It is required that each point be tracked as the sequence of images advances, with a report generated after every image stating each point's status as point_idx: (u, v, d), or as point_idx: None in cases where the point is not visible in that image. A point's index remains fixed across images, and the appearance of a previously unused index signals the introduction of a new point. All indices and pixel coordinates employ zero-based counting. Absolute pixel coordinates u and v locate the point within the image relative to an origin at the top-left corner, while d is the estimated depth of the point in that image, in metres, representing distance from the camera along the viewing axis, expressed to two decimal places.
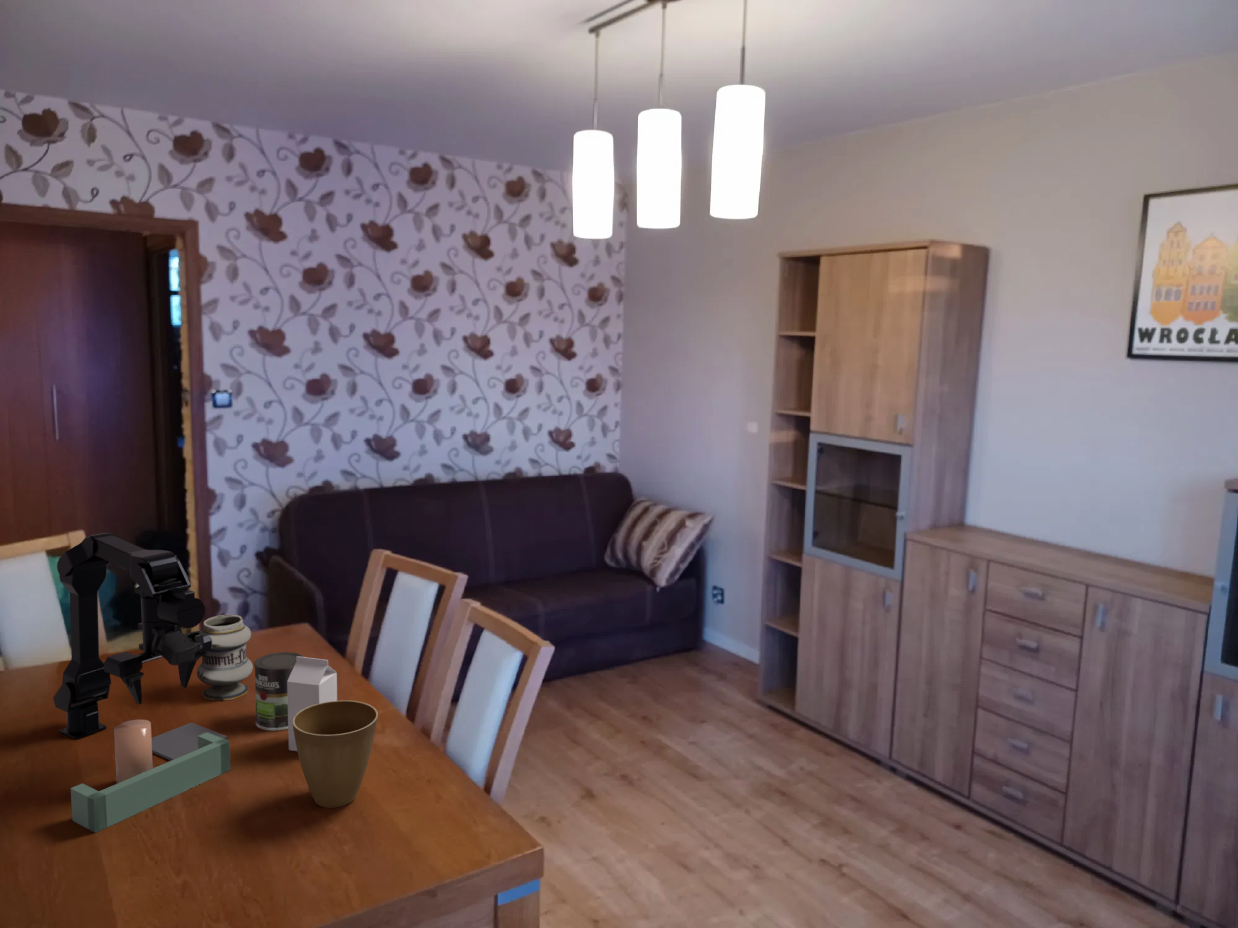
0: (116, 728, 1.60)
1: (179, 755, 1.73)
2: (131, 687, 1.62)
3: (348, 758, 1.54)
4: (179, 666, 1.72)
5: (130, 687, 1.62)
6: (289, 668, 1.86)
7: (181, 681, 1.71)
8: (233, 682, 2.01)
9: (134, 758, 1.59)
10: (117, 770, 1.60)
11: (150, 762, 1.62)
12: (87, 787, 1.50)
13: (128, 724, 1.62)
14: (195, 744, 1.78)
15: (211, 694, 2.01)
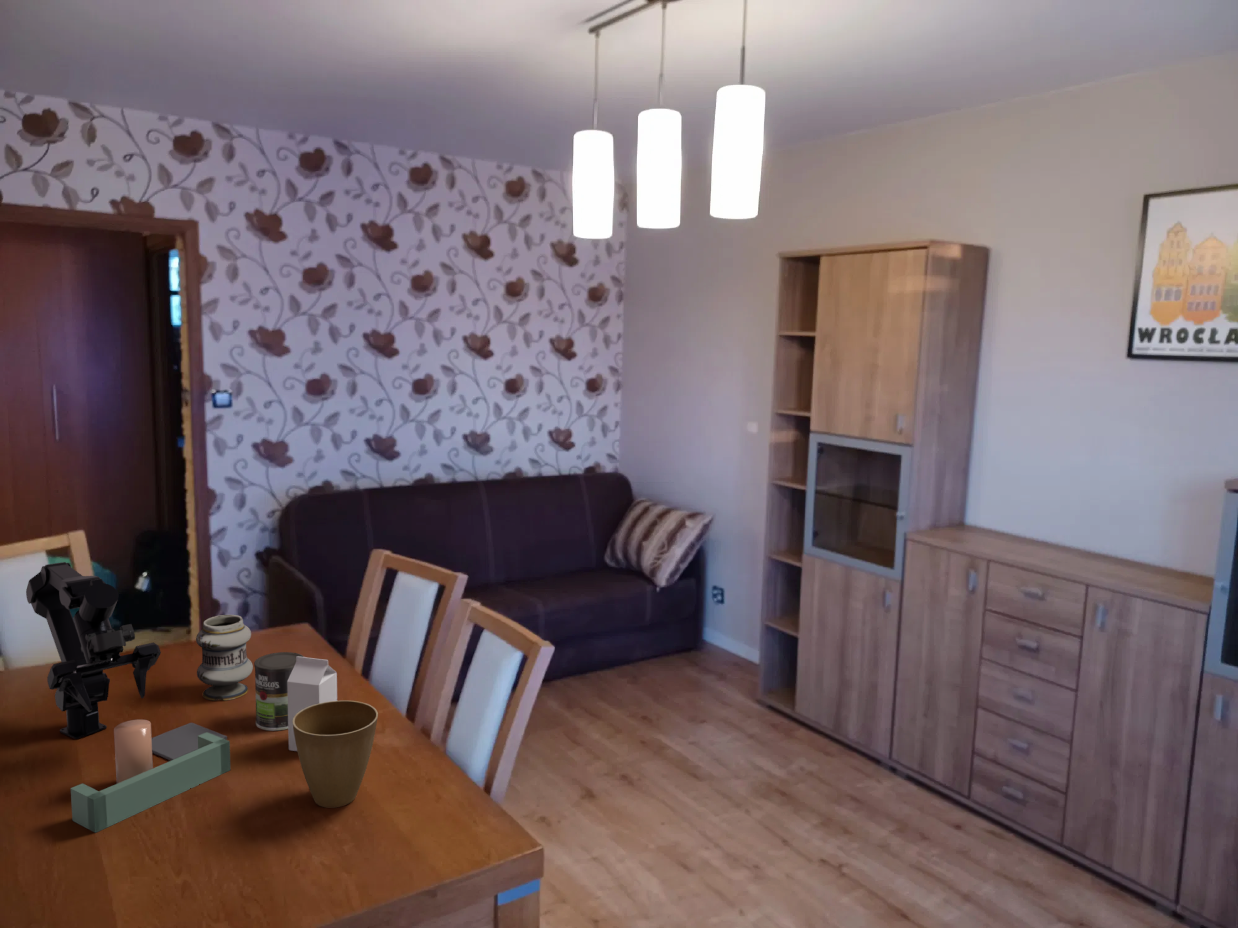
0: (116, 728, 1.60)
1: (179, 755, 1.73)
2: (78, 695, 1.63)
3: (348, 758, 1.54)
4: (136, 682, 1.72)
5: (78, 697, 1.64)
6: (289, 668, 1.86)
7: (139, 692, 1.70)
8: (233, 682, 2.01)
9: (134, 758, 1.59)
10: (117, 770, 1.60)
11: (150, 762, 1.62)
12: (87, 787, 1.50)
13: (128, 724, 1.62)
14: (195, 744, 1.78)
15: (211, 694, 2.01)
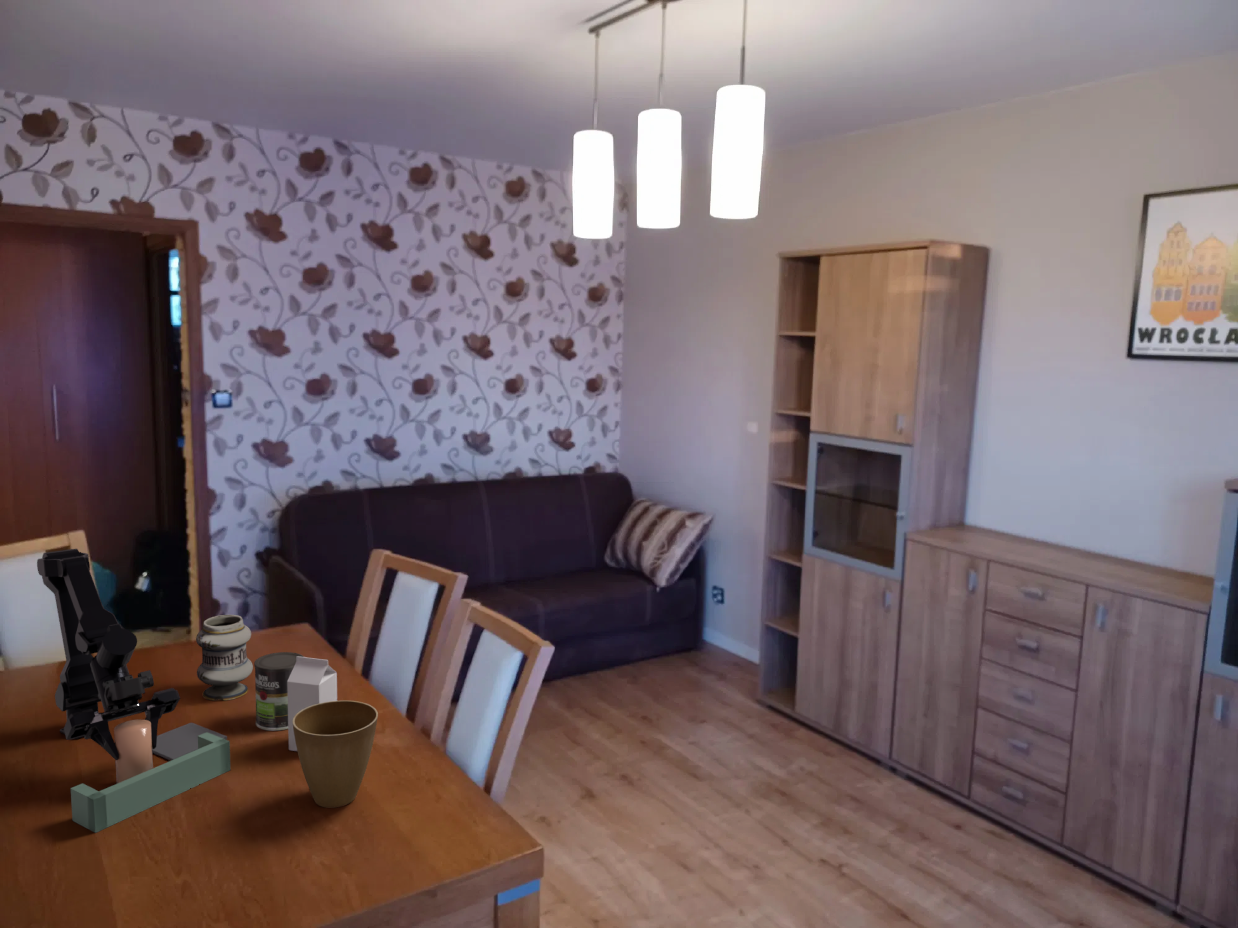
0: (116, 728, 1.60)
1: (179, 755, 1.73)
2: (105, 744, 1.59)
3: (348, 758, 1.54)
4: None
5: (104, 745, 1.59)
6: (289, 668, 1.86)
7: None
8: (233, 682, 2.01)
9: (134, 758, 1.59)
10: (117, 770, 1.60)
11: (150, 762, 1.62)
12: (87, 787, 1.50)
13: (128, 724, 1.62)
14: (195, 744, 1.78)
15: (211, 694, 2.01)
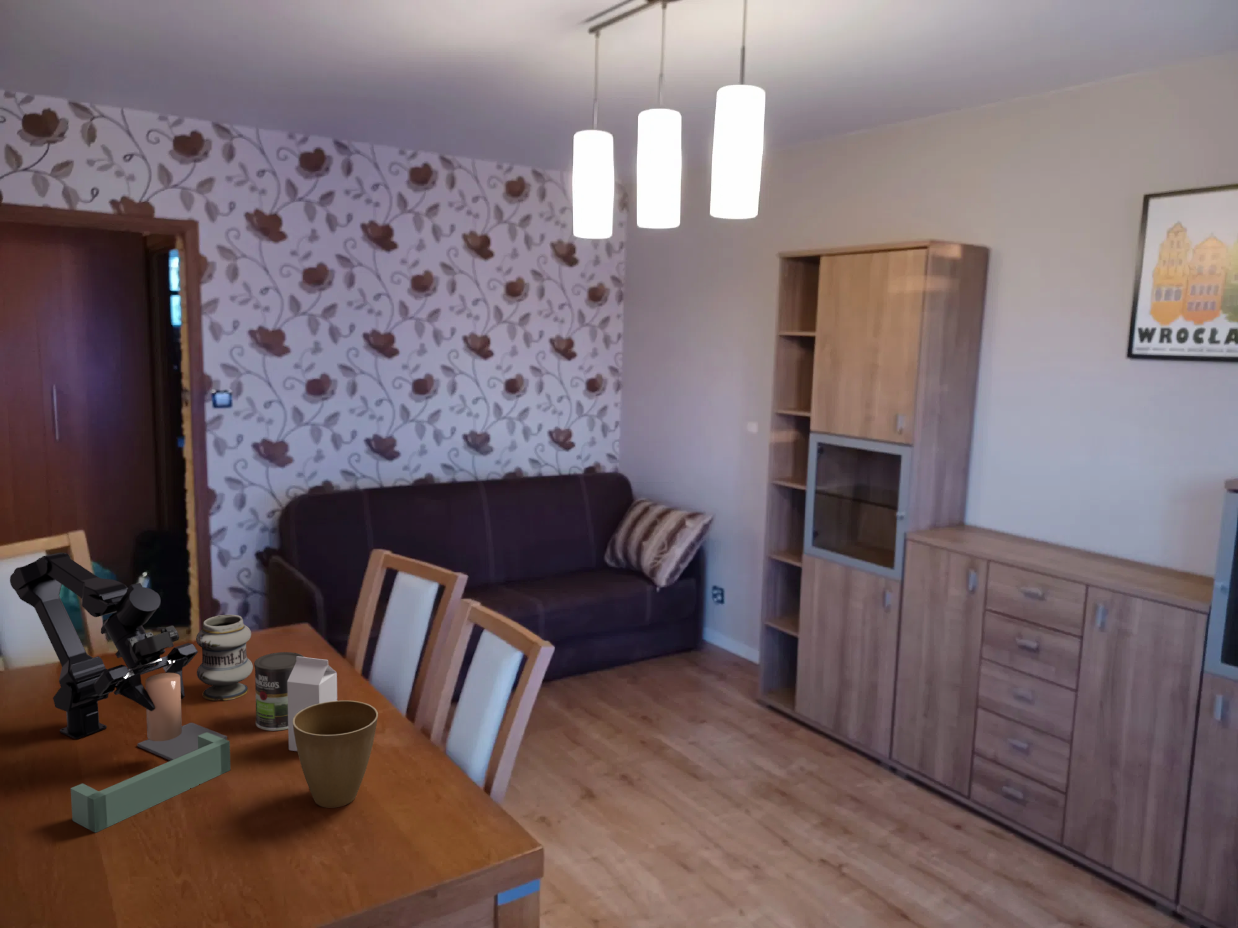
0: (147, 681, 1.67)
1: (179, 755, 1.73)
2: (138, 696, 1.66)
3: (348, 758, 1.54)
4: None
5: (137, 698, 1.66)
6: (289, 668, 1.86)
7: None
8: (233, 682, 2.01)
9: (169, 707, 1.67)
10: (150, 721, 1.67)
11: (180, 711, 1.71)
12: (87, 787, 1.50)
13: (157, 677, 1.69)
14: (195, 744, 1.78)
15: (211, 694, 2.01)
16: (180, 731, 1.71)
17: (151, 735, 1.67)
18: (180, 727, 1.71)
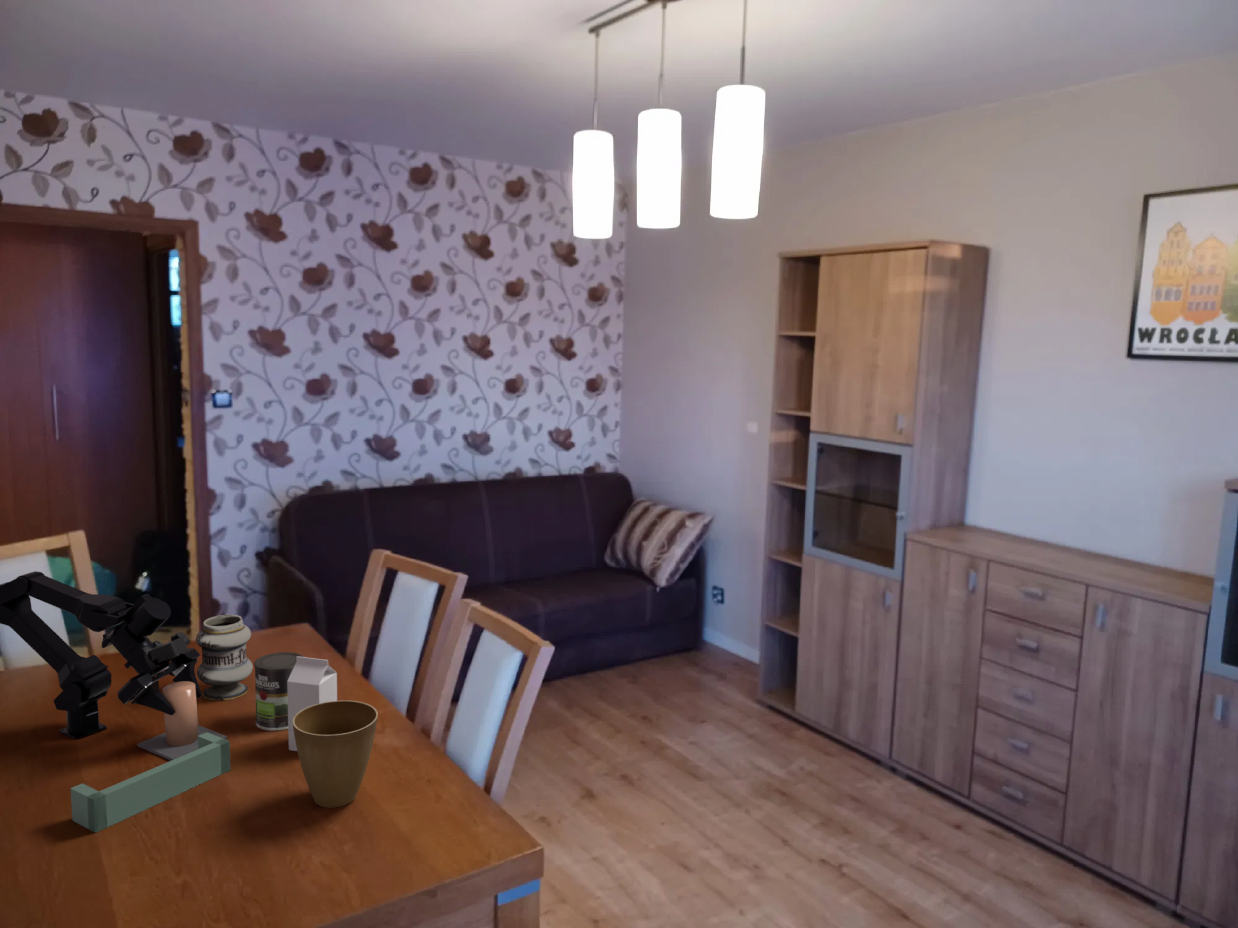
0: (166, 691, 1.75)
1: (179, 755, 1.73)
2: (157, 703, 1.73)
3: (348, 758, 1.54)
4: None
5: (156, 704, 1.73)
6: (289, 668, 1.86)
7: None
8: (233, 682, 2.01)
9: (190, 713, 1.77)
10: (173, 728, 1.76)
11: None
12: (87, 787, 1.50)
13: (172, 687, 1.78)
14: (195, 744, 1.78)
15: (211, 694, 2.01)
16: (198, 734, 1.81)
17: (174, 741, 1.76)
18: None
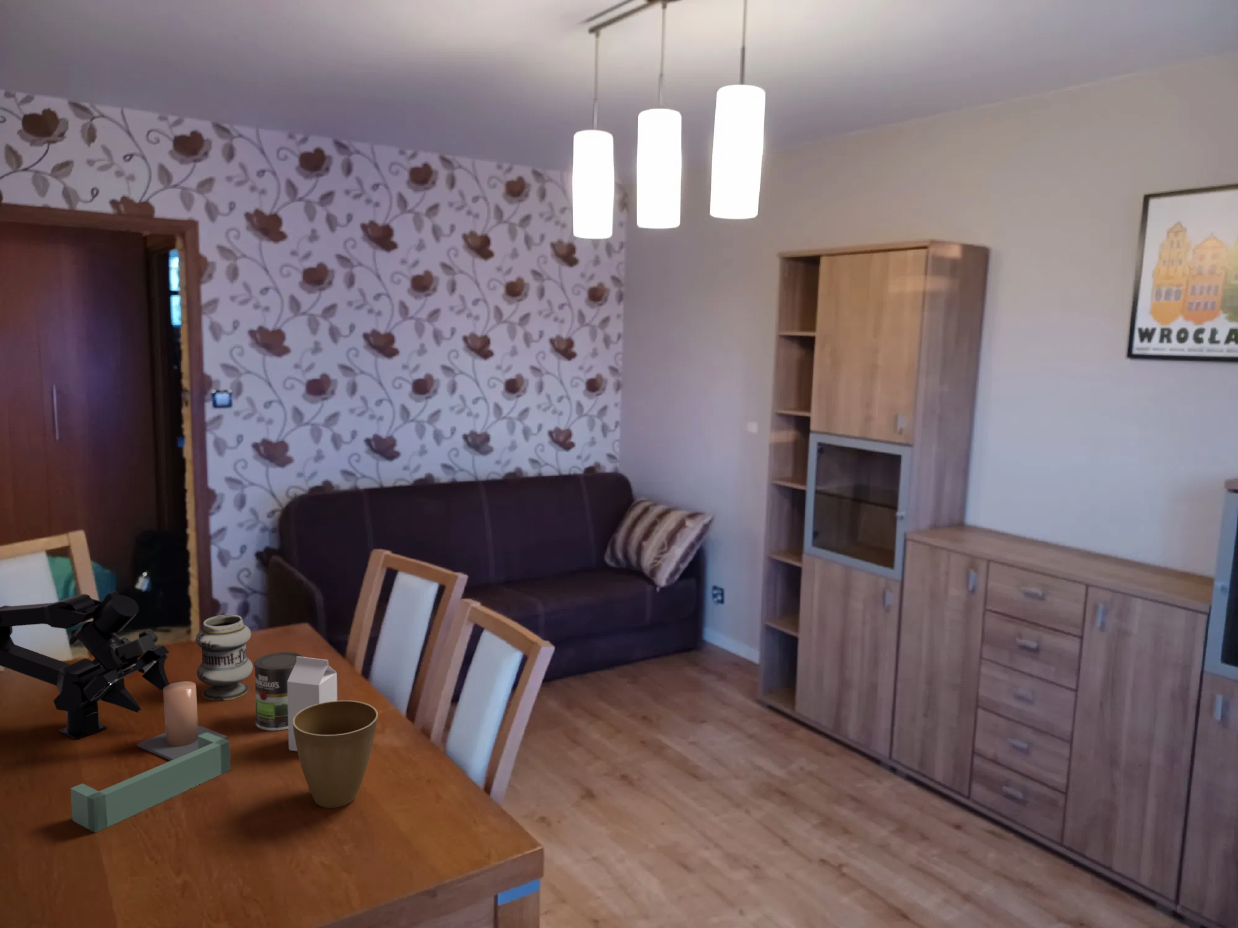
0: (167, 691, 1.76)
1: (179, 755, 1.73)
2: (122, 700, 1.74)
3: (348, 758, 1.54)
4: (153, 682, 1.84)
5: (122, 701, 1.74)
6: (289, 668, 1.86)
7: None
8: (233, 682, 2.01)
9: (190, 712, 1.77)
10: (173, 728, 1.76)
11: (197, 716, 1.81)
12: (87, 787, 1.50)
13: (173, 686, 1.78)
14: (195, 744, 1.78)
15: (211, 694, 2.01)
16: (198, 734, 1.81)
17: (174, 741, 1.77)
18: None
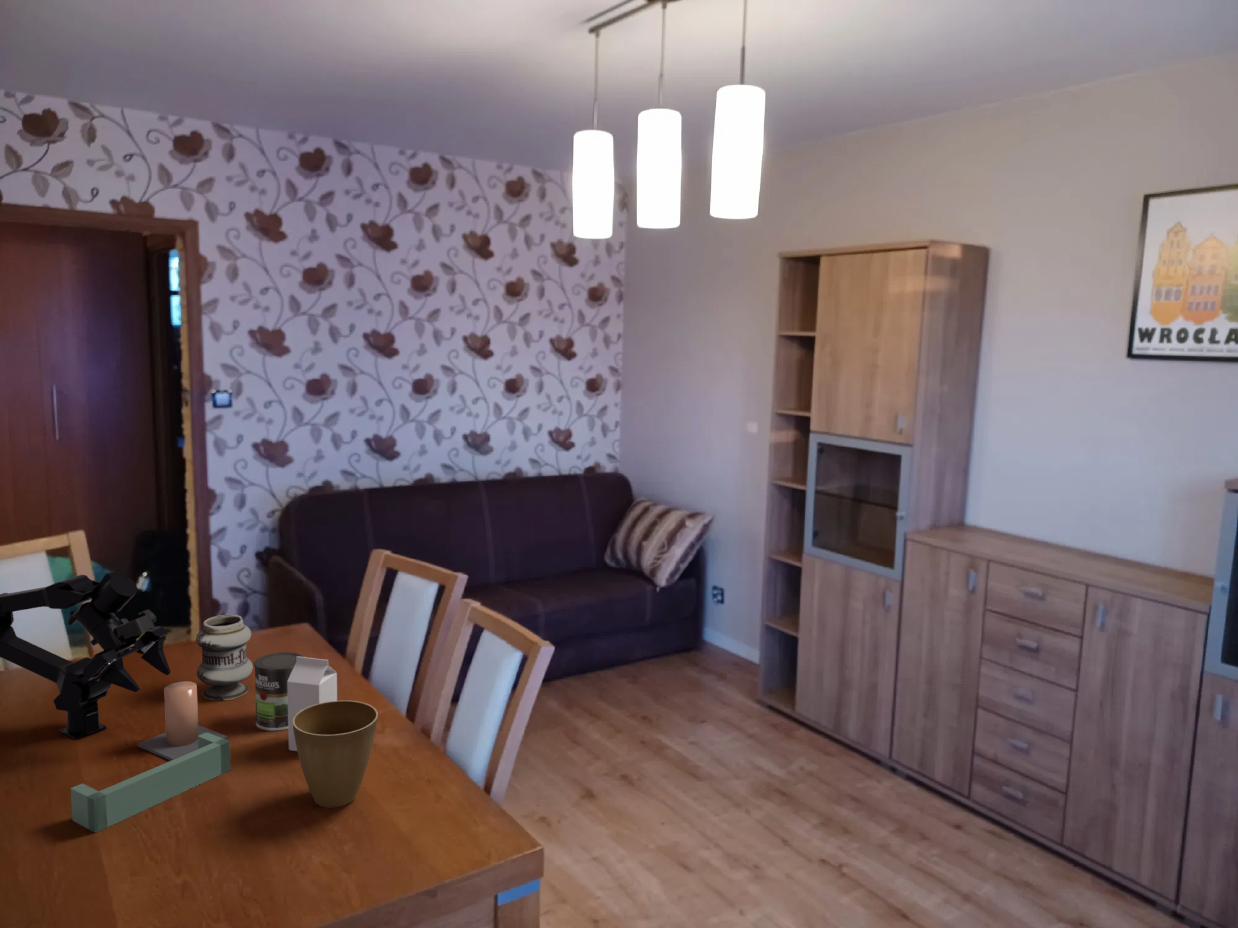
0: (168, 691, 1.76)
1: (179, 755, 1.73)
2: (121, 680, 1.73)
3: (348, 758, 1.54)
4: (152, 663, 1.84)
5: (120, 681, 1.73)
6: (289, 668, 1.86)
7: (163, 671, 1.83)
8: (233, 682, 2.01)
9: (191, 713, 1.77)
10: (173, 728, 1.76)
11: None
12: (87, 787, 1.50)
13: (173, 687, 1.78)
14: (195, 744, 1.78)
15: (211, 694, 2.01)
16: (198, 734, 1.81)
17: (174, 741, 1.76)
18: None
